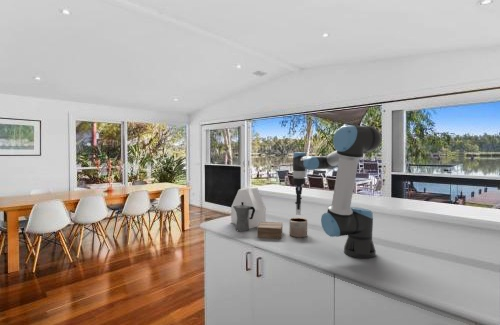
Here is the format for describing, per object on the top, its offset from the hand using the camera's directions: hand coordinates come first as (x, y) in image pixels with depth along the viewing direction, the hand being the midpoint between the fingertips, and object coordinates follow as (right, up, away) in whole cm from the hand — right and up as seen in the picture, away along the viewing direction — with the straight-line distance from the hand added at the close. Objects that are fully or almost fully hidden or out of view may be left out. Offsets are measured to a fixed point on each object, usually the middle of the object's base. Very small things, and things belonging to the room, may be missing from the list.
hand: (298, 212), depth 182 cm
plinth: (-17, -14, +1) cm, 22 cm away
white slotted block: (-31, -13, +27) cm, 43 cm away
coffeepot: (-34, -14, +12) cm, 38 cm away
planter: (0, -14, 0) cm, 14 cm away
